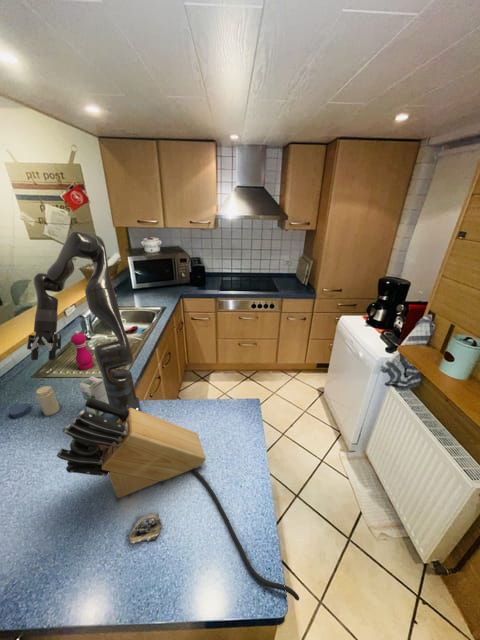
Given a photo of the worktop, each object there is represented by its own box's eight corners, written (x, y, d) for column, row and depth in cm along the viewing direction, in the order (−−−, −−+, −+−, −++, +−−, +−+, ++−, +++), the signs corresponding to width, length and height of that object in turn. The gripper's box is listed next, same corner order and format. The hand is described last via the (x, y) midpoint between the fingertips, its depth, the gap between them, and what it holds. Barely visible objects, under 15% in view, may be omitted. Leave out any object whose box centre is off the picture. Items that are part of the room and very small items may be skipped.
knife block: (84, 476, 76) (53, 397, 63) (197, 438, 89) (191, 366, 76) (78, 514, 67) (41, 432, 53) (206, 466, 79) (201, 389, 66)
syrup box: (87, 413, 98) (78, 384, 92) (100, 403, 103) (92, 375, 97) (98, 418, 96) (89, 388, 90) (110, 407, 101) (103, 378, 95)
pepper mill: (87, 371, 123) (76, 335, 114) (74, 369, 124) (63, 333, 116) (97, 363, 129) (88, 328, 121) (85, 361, 130) (75, 327, 122)
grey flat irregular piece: (165, 533, 63) (164, 529, 62) (132, 555, 59) (130, 551, 58) (157, 508, 68) (156, 504, 67) (126, 527, 64) (125, 523, 63)
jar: (62, 408, 101) (54, 387, 96) (49, 417, 96) (40, 395, 92) (54, 404, 103) (46, 383, 98) (40, 412, 98) (31, 391, 94)
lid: (15, 408, 100) (13, 405, 99) (31, 405, 102) (30, 401, 101) (8, 419, 95) (6, 415, 94) (26, 415, 97) (24, 412, 96)
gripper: (68, 321, 107) (65, 359, 105) (41, 322, 110) (37, 359, 108) (51, 319, 100) (48, 360, 98) (23, 320, 103) (19, 360, 101)
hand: (42, 359), depth 103 cm, fingers open, 8 cm apart
